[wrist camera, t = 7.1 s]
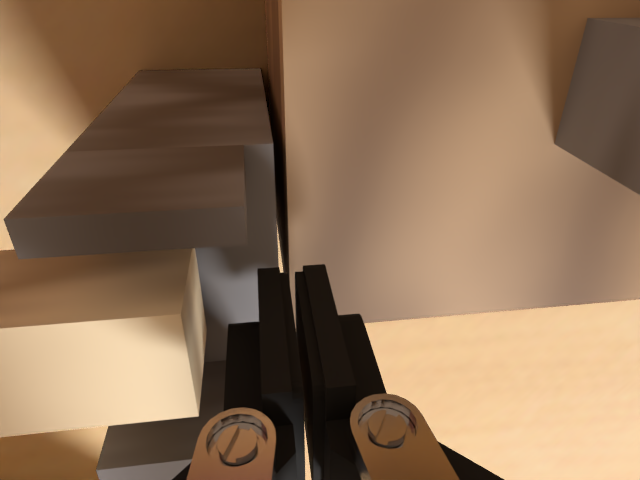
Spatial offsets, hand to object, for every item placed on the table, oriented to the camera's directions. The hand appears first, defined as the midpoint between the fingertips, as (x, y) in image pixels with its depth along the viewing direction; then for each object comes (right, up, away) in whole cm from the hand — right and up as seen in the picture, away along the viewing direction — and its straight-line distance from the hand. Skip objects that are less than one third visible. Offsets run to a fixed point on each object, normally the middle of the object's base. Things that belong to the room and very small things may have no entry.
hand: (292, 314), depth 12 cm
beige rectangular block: (-7, 0, 0) cm, 7 cm away
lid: (+10, +5, +2) cm, 11 cm away
